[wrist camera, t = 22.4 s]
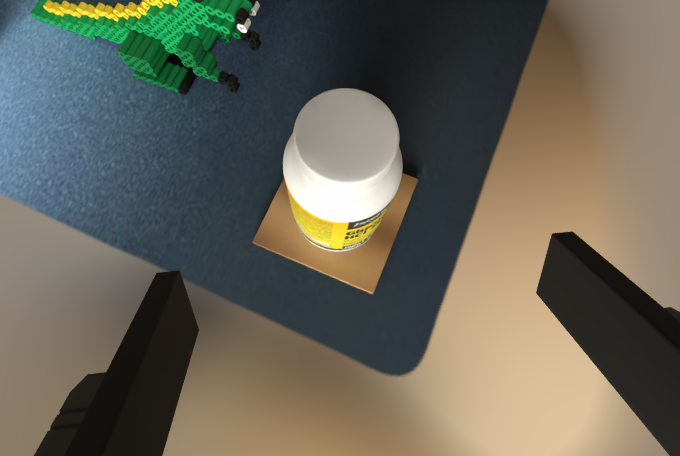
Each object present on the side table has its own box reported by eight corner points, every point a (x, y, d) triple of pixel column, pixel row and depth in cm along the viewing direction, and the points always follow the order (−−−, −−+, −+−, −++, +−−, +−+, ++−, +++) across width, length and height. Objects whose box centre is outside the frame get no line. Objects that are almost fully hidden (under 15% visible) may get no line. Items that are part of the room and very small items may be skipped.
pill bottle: (349, 271, 26) (366, 230, 16) (276, 220, 27) (244, 149, 16) (397, 200, 28) (443, 119, 17) (327, 154, 29) (328, 48, 18)
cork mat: (306, 137, 29) (305, 133, 29) (416, 182, 29) (418, 179, 28) (253, 243, 27) (251, 241, 27) (372, 294, 27) (373, 293, 26)
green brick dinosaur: (21, 37, 31) (-96, -75, 22) (59, -18, 32) (-36, -142, 24) (254, 120, 30) (227, 35, 21) (283, 60, 31) (268, -42, 23)
